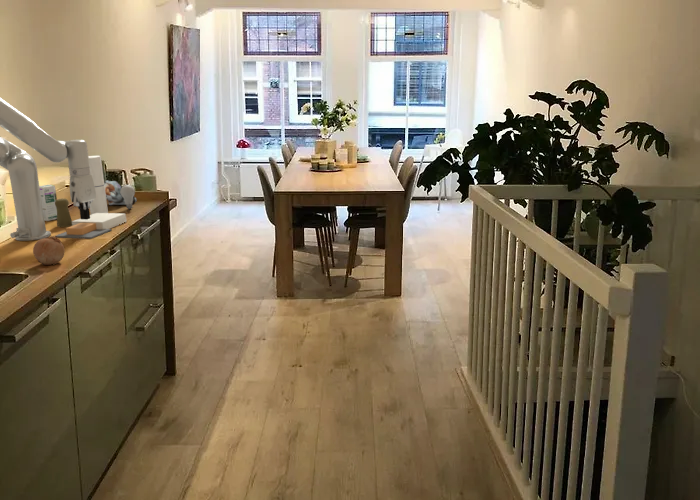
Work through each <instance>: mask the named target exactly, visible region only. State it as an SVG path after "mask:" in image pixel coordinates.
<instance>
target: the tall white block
mask: <svg viewBox="0 0 700 500" xmlns="http://www.w3.org/2000/svg"><path fill="white" fill-rule="evenodd" d="M88 158H89V166H90V174H91V175H92V178H93V181H94V186H95V192H96V198H95V199H94V200H93V202H91V203H90V208H89V212H90V215H91V214H94V213H109V210H108V200H107V199H106V193H105V185H104V181H105V179H104V170H103V165H102V163H103V162H102V157H101V155H88Z"/></svg>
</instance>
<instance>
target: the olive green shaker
mask: <svg viewBox="0 0 700 500" xmlns="http://www.w3.org/2000/svg"><path fill="white" fill-rule="evenodd" d="M69 204H70V202H69V200H68V199H67V198H57V200H56V201H55V206H56V207H57V219H56V226H57V228H68V227H71V226H72V221H73V220H72V217H71V214H70V210H69Z"/></svg>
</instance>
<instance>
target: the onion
mask: <svg viewBox="0 0 700 500" xmlns="http://www.w3.org/2000/svg"><path fill="white" fill-rule="evenodd" d="M55 236H56V235H53V236H52V235H50V236H49V237H46V238H43V239H38V240H36V242H35V243H34V246H33V249H32V253H33V256H34V257H35V259H36V260H37V262H38V263H40V264H41V265H42V266H53V265H56V264H58V263H60V261H61V260H63V258H64V256H65V252H66V251H65V247H64V244H63V243H62V241H61V240H60V238H58V237H55ZM51 264H53V265H51Z"/></svg>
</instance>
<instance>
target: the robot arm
mask: <svg viewBox="0 0 700 500" xmlns="http://www.w3.org/2000/svg"><path fill="white" fill-rule="evenodd" d="M0 128H2V129H4V130H5V131H6V132H8V133H9V134H11V135H12V136H13V137H15V138H16V139H18V140H19V141H21V142H22V143H24V144H26V145H27V146H29V147H30V148H32V149H33V150H34V151H36V152H37V153H38V154H40V155H42V156H43V157H44V158H46V159H47V160H49V161H51V162H53V163H61V162H63V161H64V160H65V159H67V164H68V169H69V171H68V172H69V193H70V194H69V195H70V200H71V202H72V203H73V207H77V208H78V210H79V215H80V218H81V219H86V220H87V219H90V215H91V213H90V203H91V202H93V200H94V199H95V198H96V192H95V186H94V181H93V178H92V175H91V174H90V166H89V158H88V156H89V152H88V151H89V149H88V144H87V141H86V140H85V139H71V140H59V139H58V140H57V139H56V138H54V137H53V136H51V135H50V133H49V134H48V133H47V132H46V131H44V130H43V129H42V128H40V127H39V126H38V125H37V124H36V122H34V121H33V120H32V119H31V118H30V117H28V116H27V115H25V114H24V113H22V112H21V111H19V110H18V109H17V108H16V107H14V106H13V105H11V104H10V103H9V102H7V101H6V100H4V99H3V98H2V97H1V96H0ZM0 166H1V167H2V168H4V169H5V170H7V171H8V175H9V180H10V186H11V192H12V198H13V204H14V211H15V216H16V223H17V227H16V231H13V232H11V233H10V234H9V236H10V238H12V239H15V240H16V241H19V242H22V241H25V242H27V241H28V242H29V241H38V240H40V239H43V238H47V237H51V236H52V232H51V231H50V230H47V228H46V222H45V220H44V214H43V207H42V200H41V194H40V188H39V186H40V183H39V173H38V167H37V163H36V161H35V159H34V157H33V156H32V155H31V154H29V153H28V152H27V151H25V150H23V149H22V148H20V147H19V146H17V145H15V144H14V143H12V142H11V141H9V140H7V139H6V138H4V137H2V136H0Z"/></svg>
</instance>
